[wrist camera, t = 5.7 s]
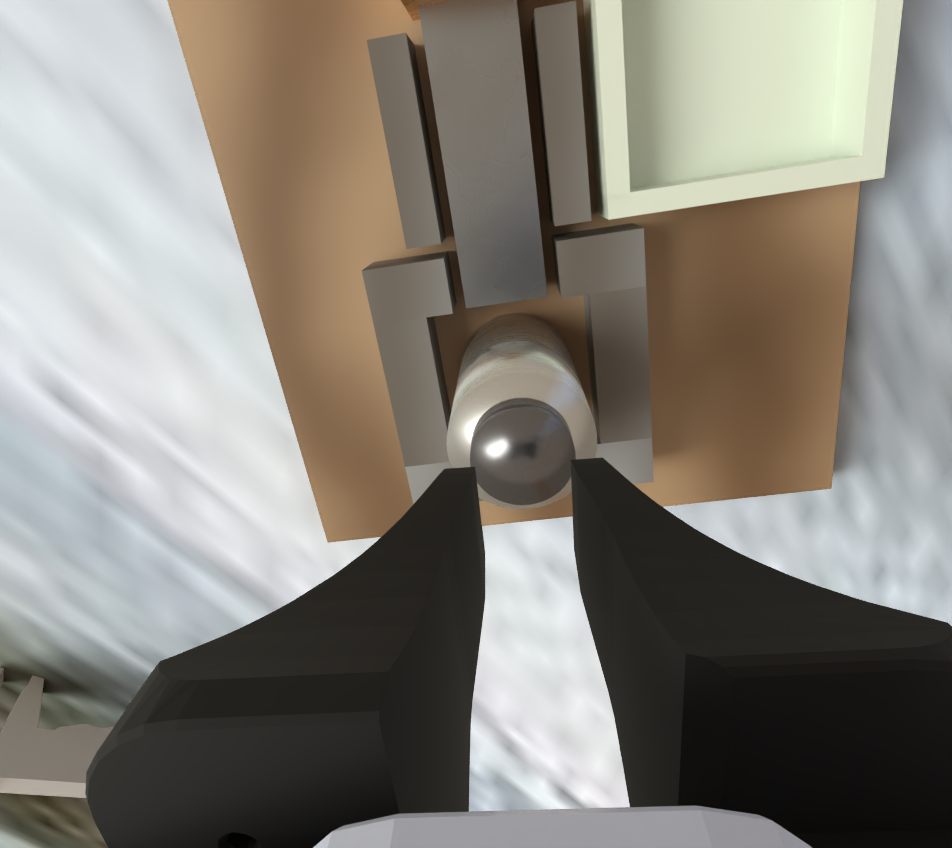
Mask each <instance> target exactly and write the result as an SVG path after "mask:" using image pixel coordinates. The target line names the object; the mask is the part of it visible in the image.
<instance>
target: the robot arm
mask: <svg viewBox="0 0 952 848" xmlns="http://www.w3.org/2000/svg"><path fill="white" fill-rule="evenodd" d="M571 483H572V507H573V531H574V551H575V558H576V565H577V571H578V578H579V584H580V591H581V595H582V599H583V603H584V606H585V610H586V614H587V617H588V621H589V624H590V628H591V632H592V635H593V639H594V642H595V646H596V649H597V653H598V656H599V660H600V663H601V667H602V671H603V674H604V678H605V681H606V685H607V688H608V692H609V696H610V700H611V704H612V709H613V713H614V717H615V722H616V728H617V734H618V739H619V745H620V751H621V757H622V762H623V768H624V774H625V779H626V785H627V791H628V797H629V803H630V807H625V808H588V809H552V810H515V811H478V812H469V765H470V725H471V711H472V699H473V691H474V683H475V675H476V667H477V660H478V652H479V644H480V636H481V628H482V620H483V612H484V603H485V549H484V541H483V532H482V523H481V514H480V505H479V496H478V487H477V478H476V469H475V467H462V468H448V469H444V470H443V471H442V472H441V473H440V474H439V475H438V476H437V477H436V479H435V480H434V481H433V482H432V483H431V484H430V486H429V487H428V488H427V489H426V490H425V492H424V493H423V494H422V495H421V496H420V497H419V499H418V500H417V501H416V502H415V503H414V504H413V505H412V506H411V508H410V509H409V510H408V511H407V512H406V513H405V514H404V515H403V516H402V517H401V519H400V520H398V521H397V522H396V523H395V524H394V525H393V526H392V527H391V528H390V529H389V530H388V531H387V532H386V533H385V534H384V535H383V536H382V537H381V538H380V539H379V540H378V541H377V542H376V543H374V544H373V545H372V546H371V547H370V548H369V549H367V550H366V551H365V552H364V553H363V554H361V555H360V556H359V557H358V558H356V559H355V560H354V561H352V562H351V563H350V564H348V565H347V566H346V567H344V568H343V569H342V570H340V571H339V572H338V573H336V574H335V575H333V576H332V577H330V578H329V579H327V580H325V581H324V582H322V583H321V584H319V585H318V586H316V587H314V588H313V589H311V590H310V591H308V592H307V593H305V594H303V595H302V596H300V597H299V598H297V599H295V600H294V601H292V602H290V603H289V604H287V605H285V606H283V607H281V608H279V609H277V610H276V611H274V612H272V613H270V614H268V615H266V616H264V617H262V618H260V619H258V620H256V621H254V622H252V623H250V624H248V625H246V626H244V627H242V628H240V629H238V630H235V631H233V632H231V633H229V634H227V635H224V636H222V637H220V638H217V639H215V640H212V641H210V642H207V643H205V644H203V645H200V646H198V647H195V648H193V649H190V650H188V651H186V652H183V653H181V654H178V655H176V656H173V657H170V658H168V659H165V660H162V661H160V662H159V664H158V665H157V666H156V668H155V669H154V670H153V671H152V673H151V674H150V676H149V677H148V679H147V680H146V681H145V683H144V684H143V686H142V687H141V689H140V690H139V691H138V693H137V694H136V696H135V697H134V699H133V700H132V702H131V703H130V705H129V706H128V707H127V709H126V710H125V712H124V713H123V715H122V716H121V718H120V719H119V720H118V722H117V723H116V725H115V726H114V728H113V729H112V731H111V732H110V733H109V735H108V736H107V738H106V739H105V741H104V742H103V744H102V745H101V747H100V748H99V749H98V751H97V752H96V754H95V756H94V758H93V760H92V762H91V764H90V766H89V768H88V770H87V772H86V790H85V794H86V798H87V801H88V804H89V806H90V809H91V812H92V815H93V818H94V821H95V823H96V825H97V827H98V829H99V831H100V833H101V835H102V836H103V838H104V840H105V842H106V844H107V846H108V848H952V626H951V625H949V623H946V622H943V621H939V620H935V619H931V618H927V617H923V616H919V615H916V614H912V613H908V612H904V611H900V610H896V609H892V608H889V607H885V606H881V605H877V604H873V603H869V602H866V601H862V600H859V599H856V598H853V597H850V596H847V595H844V594H841V593H838V592H835V591H832V590H829V589H826V588H822V587H819V586H816V585H814V584H811V583H808V582H806V581H803V580H800V579H798V578H795V577H792V576H790V575H787V574H785V573H782V572H780V571H778V570H775V569H773V568H771V567H768V566H766V565H764V564H762V563H759V562H757V561H755V560H752V559H750V558H748V557H746V556H744V555H742V554H740V553H738V552H736V551H734V550H732V549H730V548H728V547H726V546H724V545H723V544H721V543H719V542H717V541H715V540H713V539H711V538H710V537H708V536H706V535H704V534H703V533H701V532H699V531H698V530H696V529H694V528H693V527H691V526H689V525H688V524H686V523H685V522H683V521H682V520H680V519H679V518H677V517H676V516H674V515H673V514H672V513H670V512H669V511H667V510H666V509H664V508H663V507H662V506H660V505H659V504H658V503H656V502H655V501H654V500H652V499H651V498H650V497H648V496H647V495H646V494H645V493H643V492H642V491H641V490H640V489H638V488H637V487H636V486H635V485H634V484H632V483H631V482H630V481H629V480H628V479H627V478H625V477H624V476H623V475H622V474H621V473H620V472H619V471H618V470H616V469H615V468H614V467H613V466H612V465H611V464H610V463H608V462H607V461H606V460H605V459H604V458H589V459H575V460H571Z"/></svg>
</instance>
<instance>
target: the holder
mask: <svg viewBox="0 0 952 848" xmlns="http://www.w3.org/2000/svg"><path fill="white" fill-rule="evenodd" d="M168 3H169V7H170V10H171V14H172V17H173V20H174V24H175V27H176V31H177V34H178V37H179V41H180V44H181V47H182V51H183V54H184V58H185V61H186V64H187V68H188V71H189V75H190V78H191V81H192V85H193V88H194V91H195V95H196V98H197V102H198V105H199V108H200V112H201V115H202V118H203V122H204V125H205V129H206V132H207V135H208V139H209V142H210V146H211V149H212V152H213V156H214V159H215V162H216V166H217V169H218V173H219V176H220V179H221V183H222V186H223V190H224V193H225V196H226V200H227V203H228V206H229V210H230V213H231V217H232V220H233V223H234V227H235V230H236V234H237V237H238V240H239V244H240V247H241V250H242V254H243V257H244V261H245V264H246V267H247V271H248V274H249V278H250V281H251V284H252V288H253V291H254V294H255V298H256V301H257V305H258V308H259V311H260V315H261V318H262V322H263V325H264V328H265V332H266V335H267V338H268V342H269V345H270V349H271V352H272V355H273V359H274V362H275V366H276V369H277V372H278V376H279V379H280V382H281V386H282V389H283V393H284V396H285V399H286V403H287V406H288V410H289V413H290V416H291V420H292V423H293V426H294V430H295V433H296V437H297V440H298V443H299V447H300V450H301V454H302V457H303V460H304V464H305V467H306V470H307V474H308V477H309V481H310V484H311V487H312V491H313V494H314V498H315V501H316V504H317V508H318V511H319V514H320V518H321V521H322V525H323V528H324V531H325V535H326V538H327V542H336V541H346V540H355V539H364V538H374V537H382V536H383V535H384V534H385V533H386V532H387V531H388V530H389V529H390V528H391V527H392V526H393V525H394V524H395V523H396V522H397V521H398V520H400V519H401V517H402V516H403V515H404V514H405V513H406V512H407V511H408V510H409V509H410V508H411V506H412V505H413V504H414V503H415V502H416V501H417V500H418V499H419V497H420V496H421V495H422V494H423V493H424V492H425V490H426V489H427V488H428V487H429V486H430V484H431V483H432V482H433V481H434V480H435V479H436V477H437V476H438V475H439V474H440V473H441V472H442V471H443V470H444V469H448V468H452V466H451V464H450V461H449V457H448V453H447V445H446V444H447V431H448V426H449V421H450V416H451V411H452V406H453V401H454V396H455V391H456V386H457V381H458V376H459V372H460V367H461V362H462V357H463V353H464V350H465V347H466V345H467V343H468V341H469V339H470V338H471V336H472V335H473V334H474V332H475V331H476V330H477V329H478V328H479V327H481V326H482V325H483V324H484V323H486V322H487V321H489V320H491V319H493V318H496V317H498V316H501V315H506V314H514V313H519V314H528V315H532V316H535V317H538V318H540V319H542V320H544V321H546V322H547V323H549V324H550V325H551V326H553V327H554V328H555V329H556V330H557V331H558V333H559V334H560V335H561V336H562V338H563V340H564V341H565V343H566V346H567V348H568V351H569V353H570V356H571V359H572V362H573V364H574V367H575V370H576V373H577V375H578V378H579V381H580V383H581V386H582V389H583V392H584V394H585V397H586V400H587V403H588V405H589V408H590V411H591V413H592V416H593V419H594V422H595V426H596V431H597V449H596V455H595V458H604V459H605V460H606V461H607V462H608V463H610V464H611V465H612V466H613V467H614V468H615V469H616V470H618V471H619V472H620V473H621V474H622V475H623V476H624V477H625V478H627V479H628V480H629V481H630V482H631V483H632V484H634V485H635V486H636V487H637V488H638V489H640V490H641V491H642V492H643V493H645V494H646V495H647V496H648V497H650V498H651V499H652V500H654V501H655V502H656V503H658V504H659V505H660V506H662V507H663V506H673V505H682V504H691V503H701V502H710V501H719V500H729V499H738V498H747V497H757V496H766V495H775V494H785V493H794V492H803V491H813V490H822V489H831V487H832V477H833V466H834V456H835V445H836V434H837V424H838V413H839V403H840V392H841V382H842V371H843V360H844V350H845V339H846V329H847V318H848V307H849V297H850V286H851V276H852V265H853V255H854V244H855V233H856V223H857V212H858V202H859V191H860V181H858V182H852V183H845V184H839V185H832V186H826V187H819V188H813V189H806V190H800V191H793V192H787V193H780V194H774V195H767V196H760V197H754V198H747V199H741V200H734V201H728V202H721V203H715V204H708V205H702V206H695V207H689V208H682V209H676V210H669V211H663V212H656V213H649V214H643V215H636V216H630V217H623V218H617V219H610V220H608V219H606V218H604V217H602V216H600V215H598V213H597V198H596V184H595V169H594V154H593V139H592V124H591V109H590V94H589V79H588V64H587V50H586V35H585V20H584V5H583V0H521V1H517V8H518V17H519V27H520V37H521V46H522V56H523V66H524V75H525V85H526V95H527V104H528V114H529V123H530V133H531V143H532V152H533V162H534V172H535V181H536V191H537V201H538V210H539V220H540V230H541V239H542V249H543V259H544V268H545V278H546V287H547V297H543V298H536V299H529V300H522V301H515V302H508V303H501V304H494V305H487V306H480V307H473V308H466V305H465V299H464V292H463V286H462V280H461V273H460V267H459V261H458V255H457V248H456V242H455V236H454V229H453V223H452V217H451V210H450V204H449V198H448V191H447V185H446V179H445V172H444V166H443V160H442V153H441V147H440V141H439V135H438V128H437V122H436V116H435V109H434V103H433V97H432V90H431V84H430V78H429V71H428V65H427V59H426V52H425V46H424V40H423V33H422V27H421V21H420V20H416V21H413V20H412V18H411V17H410V15H409V13H408V12H407V10H406V8H405V7H404V5H403V3H402V2H401V0H168ZM479 505H480V514H481V523H482V526H486V525H495V524H504V523H514V522H523V521H533V520H542V519H551V518H561V517H570V516H573V507H572V492H571V493H569V494H568V495H566V496H565V497H563V498H561V499H560V500H558V501H556V502H553V503H551V504H549V505H545V506H542V507H538V508H532V509H510V508H505V507H500V506H497V505H493V504H491V503H489V502H486V501H484V500H482V499H481V498H479Z"/></svg>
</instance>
